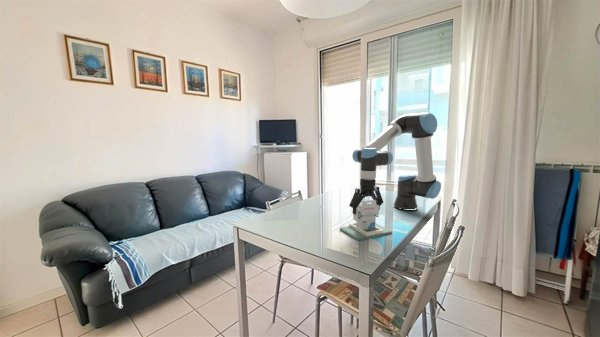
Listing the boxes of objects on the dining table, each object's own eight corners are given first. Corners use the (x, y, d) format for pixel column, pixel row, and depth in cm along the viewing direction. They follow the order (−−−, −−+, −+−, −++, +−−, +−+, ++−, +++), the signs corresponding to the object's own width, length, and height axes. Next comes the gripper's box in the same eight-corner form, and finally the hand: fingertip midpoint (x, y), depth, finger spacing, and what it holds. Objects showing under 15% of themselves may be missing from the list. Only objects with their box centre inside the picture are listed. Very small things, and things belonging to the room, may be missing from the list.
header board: (372, 223, 141) (372, 219, 140) (391, 233, 127) (392, 228, 127) (339, 229, 132) (340, 224, 131) (357, 240, 118) (357, 235, 118)
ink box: (370, 224, 133) (371, 197, 131) (375, 227, 128) (376, 199, 126) (356, 225, 130) (357, 198, 128) (360, 229, 126) (362, 201, 124)
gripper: (381, 175, 134) (379, 213, 137) (343, 178, 124) (342, 219, 127) (391, 177, 127) (389, 217, 130) (352, 181, 117) (350, 224, 120)
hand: (366, 218), depth 129 cm, fingers open, 13 cm apart
